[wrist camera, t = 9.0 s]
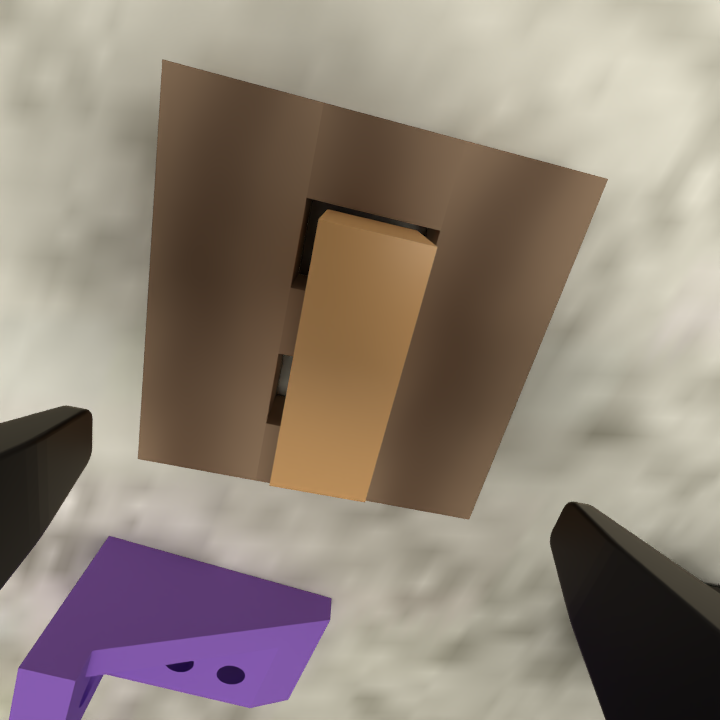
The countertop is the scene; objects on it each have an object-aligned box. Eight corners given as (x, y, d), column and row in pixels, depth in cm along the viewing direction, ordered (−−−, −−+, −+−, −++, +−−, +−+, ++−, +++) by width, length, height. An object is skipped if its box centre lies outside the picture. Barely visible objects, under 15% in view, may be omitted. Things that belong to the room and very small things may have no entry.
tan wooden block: (408, 223, 17) (437, 247, 11) (361, 405, 20) (364, 502, 14) (331, 205, 17) (318, 219, 11) (295, 392, 20) (269, 485, 14)
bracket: (88, 621, 25) (-1, 770, 19) (111, 532, 23) (18, 667, 17) (291, 672, 27) (272, 823, 21) (331, 594, 25) (323, 738, 18)
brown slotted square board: (572, 179, 17) (607, 179, 14) (456, 483, 22) (469, 519, 19) (191, 77, 15) (162, 59, 13) (162, 427, 20) (137, 458, 18)
